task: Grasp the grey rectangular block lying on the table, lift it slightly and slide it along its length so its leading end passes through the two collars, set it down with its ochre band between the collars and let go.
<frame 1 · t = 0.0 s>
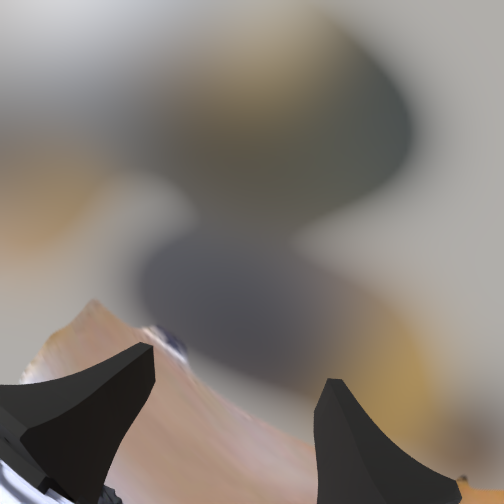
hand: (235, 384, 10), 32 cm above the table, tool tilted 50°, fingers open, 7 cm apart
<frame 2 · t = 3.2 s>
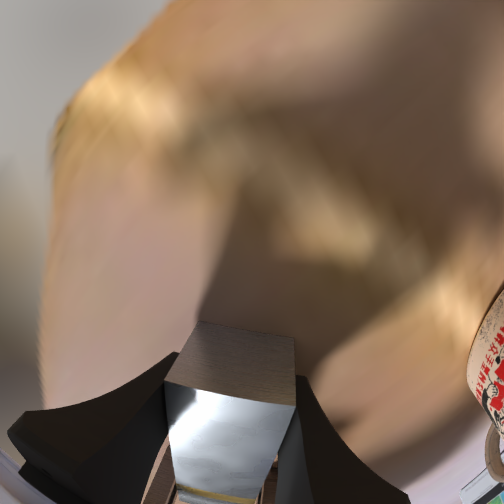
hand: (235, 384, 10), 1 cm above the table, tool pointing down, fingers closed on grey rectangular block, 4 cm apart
collar frame: (223, 470, 14), on the table
grey rectangular block: (232, 414, 12), on the table, touching gripper
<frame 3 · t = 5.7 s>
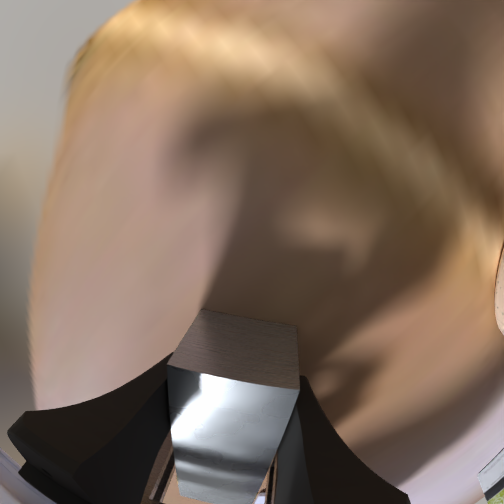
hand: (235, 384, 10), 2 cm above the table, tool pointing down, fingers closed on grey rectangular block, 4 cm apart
collar frame: (228, 440, 13), on the table
grey rectangular block: (234, 405, 13), on the table, touching gripper
when the fingers open (1 cm above the table, at t = 6.2 s): grey rectangular block stays where it is, on the table.
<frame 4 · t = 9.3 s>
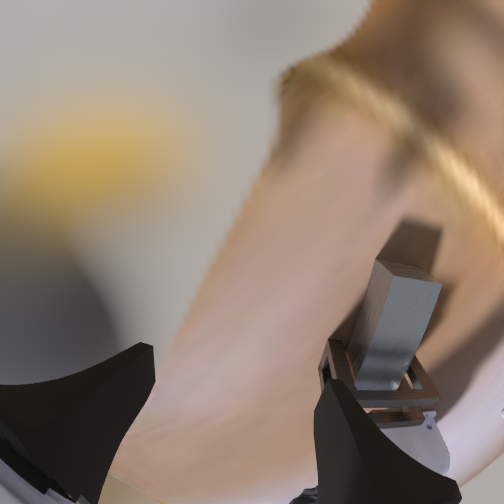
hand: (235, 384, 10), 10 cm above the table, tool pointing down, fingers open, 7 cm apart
collar frame: (365, 357, 21), on the table
dark slate chunk: (351, 498, 29), on the table
grey rectangular block: (377, 326, 20), on the table
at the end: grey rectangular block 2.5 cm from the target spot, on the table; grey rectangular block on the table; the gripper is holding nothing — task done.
